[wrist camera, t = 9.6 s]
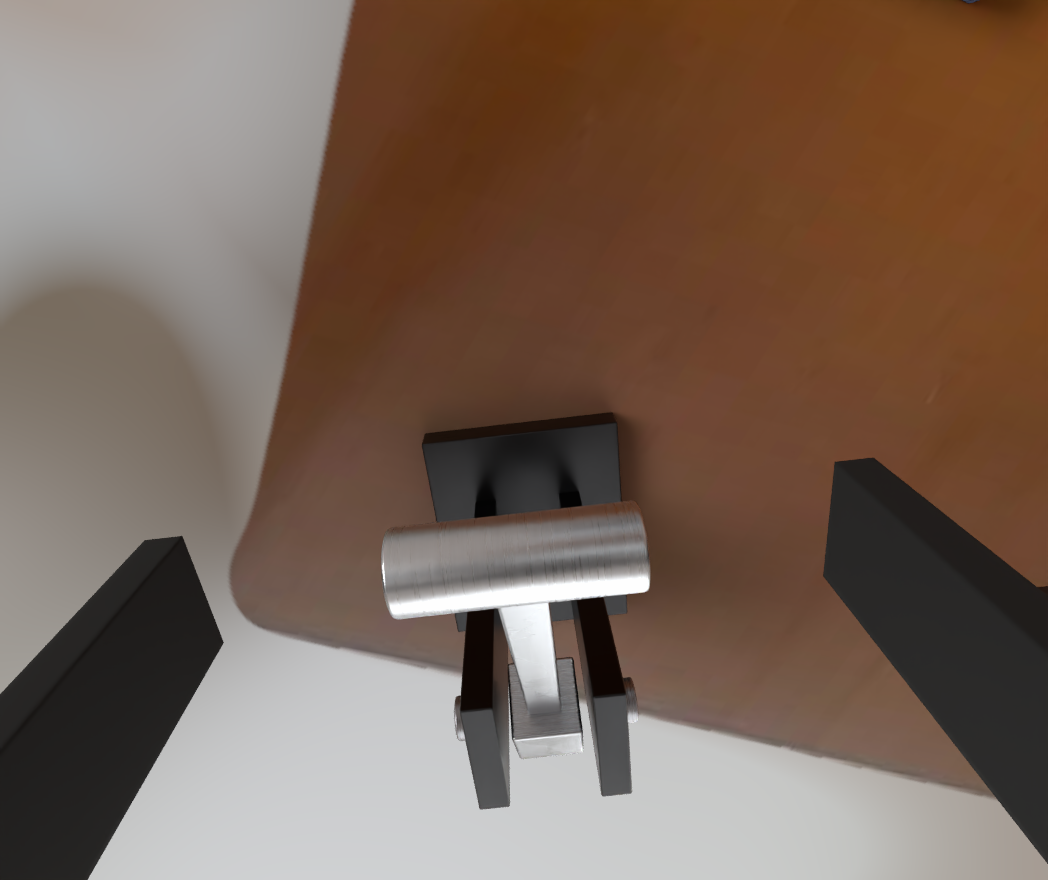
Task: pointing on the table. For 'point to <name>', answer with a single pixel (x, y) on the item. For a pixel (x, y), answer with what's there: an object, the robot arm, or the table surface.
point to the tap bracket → (535, 485)
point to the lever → (522, 594)
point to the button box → (970, 1)
